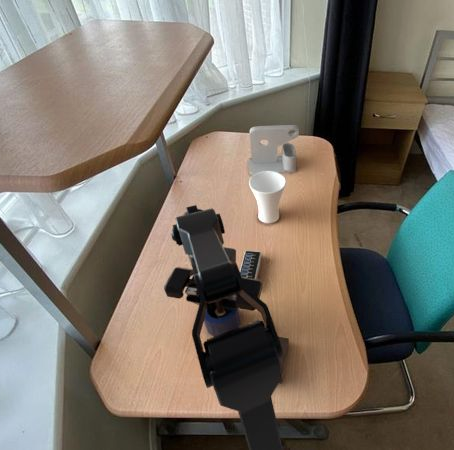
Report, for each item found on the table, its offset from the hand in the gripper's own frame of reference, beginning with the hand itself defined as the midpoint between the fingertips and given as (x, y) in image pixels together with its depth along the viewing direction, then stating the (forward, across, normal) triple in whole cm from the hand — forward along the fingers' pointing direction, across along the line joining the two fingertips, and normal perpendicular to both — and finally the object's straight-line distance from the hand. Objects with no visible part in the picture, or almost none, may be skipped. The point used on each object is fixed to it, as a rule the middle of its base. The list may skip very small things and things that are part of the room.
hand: (220, 309), depth 71 cm
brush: (+5, 0, 0) cm, 5 cm away
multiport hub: (+6, -2, -15) cm, 16 cm away
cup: (+6, -2, -37) cm, 37 cm away
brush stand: (+6, -12, +7) cm, 15 cm away
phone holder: (+6, +3, -64) cm, 64 cm away
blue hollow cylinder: (+6, 0, 0) cm, 6 cm away
